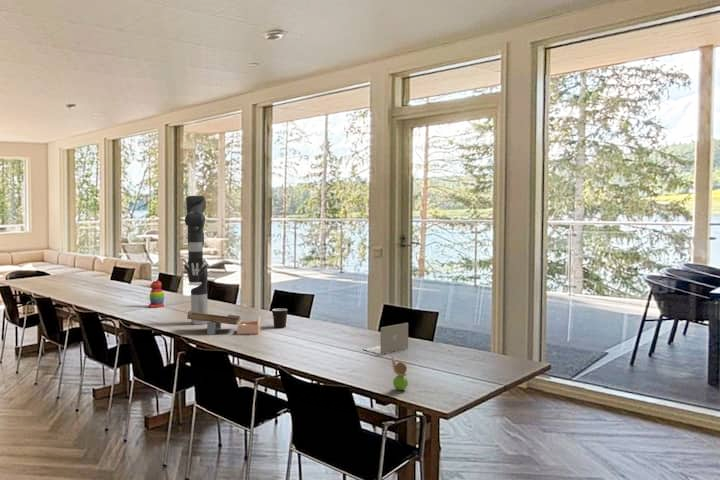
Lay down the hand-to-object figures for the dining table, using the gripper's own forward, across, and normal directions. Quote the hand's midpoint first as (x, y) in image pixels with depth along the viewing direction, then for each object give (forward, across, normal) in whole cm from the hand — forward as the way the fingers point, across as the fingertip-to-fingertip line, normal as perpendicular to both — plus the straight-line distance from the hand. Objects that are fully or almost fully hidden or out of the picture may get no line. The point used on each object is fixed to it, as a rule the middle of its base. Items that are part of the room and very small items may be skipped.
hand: (195, 282), depth 317 cm
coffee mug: (+27, -46, -7) cm, 53 cm away
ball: (+24, -26, +8) cm, 36 cm away
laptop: (+26, -98, +50) cm, 114 cm away
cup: (+26, -29, +8) cm, 40 cm away
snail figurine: (+25, -96, +112) cm, 150 cm away
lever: (+20, -10, +4) cm, 23 cm away
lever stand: (+26, -10, +4) cm, 29 cm away
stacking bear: (+28, +43, -80) cm, 95 cm away
